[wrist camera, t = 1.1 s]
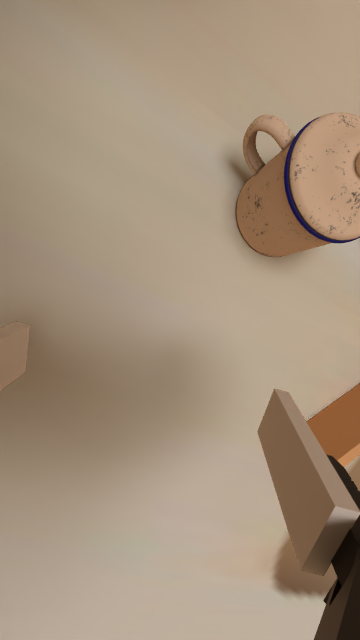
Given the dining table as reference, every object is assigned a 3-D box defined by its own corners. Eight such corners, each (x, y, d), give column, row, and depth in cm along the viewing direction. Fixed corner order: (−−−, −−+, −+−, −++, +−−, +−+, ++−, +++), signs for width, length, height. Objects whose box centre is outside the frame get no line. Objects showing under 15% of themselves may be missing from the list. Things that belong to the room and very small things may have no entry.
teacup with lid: (325, 217, 30) (454, 167, 19) (273, 277, 29) (378, 262, 18) (254, 126, 27) (355, 3, 16) (194, 189, 26) (257, 104, 15)
